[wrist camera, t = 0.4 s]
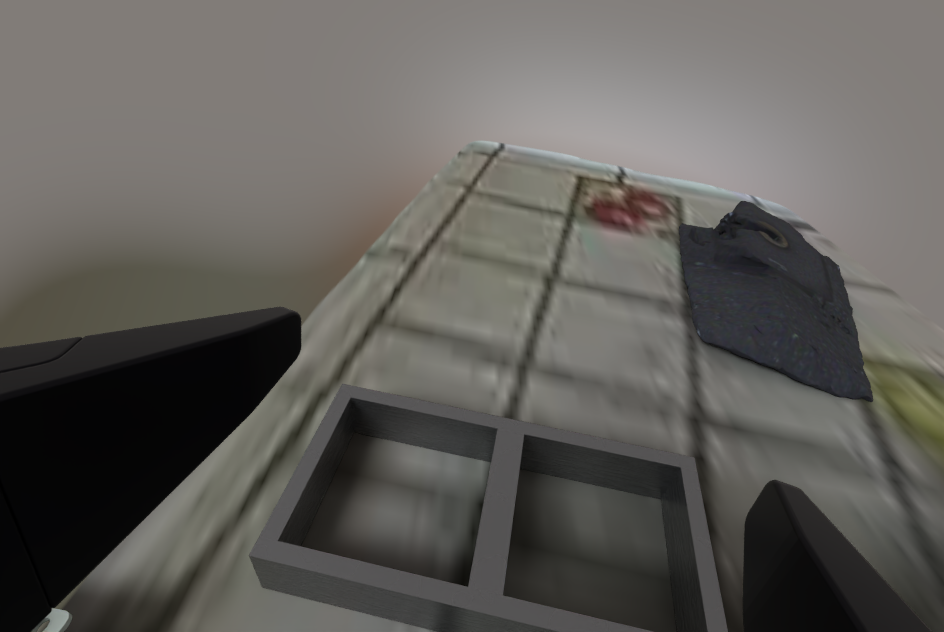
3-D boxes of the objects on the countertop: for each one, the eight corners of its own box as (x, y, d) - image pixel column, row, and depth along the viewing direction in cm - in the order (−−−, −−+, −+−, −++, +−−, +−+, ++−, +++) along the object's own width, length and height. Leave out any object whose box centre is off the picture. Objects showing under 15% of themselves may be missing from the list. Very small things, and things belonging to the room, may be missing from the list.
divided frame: (704, 698, 20) (736, 675, 18) (262, 587, 22) (248, 555, 20) (673, 489, 27) (694, 457, 26) (346, 418, 29) (342, 383, 27)
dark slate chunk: (654, 348, 37) (677, 298, 34) (677, 225, 53) (694, 183, 50) (882, 422, 34) (930, 373, 31) (832, 265, 50) (860, 223, 47)
